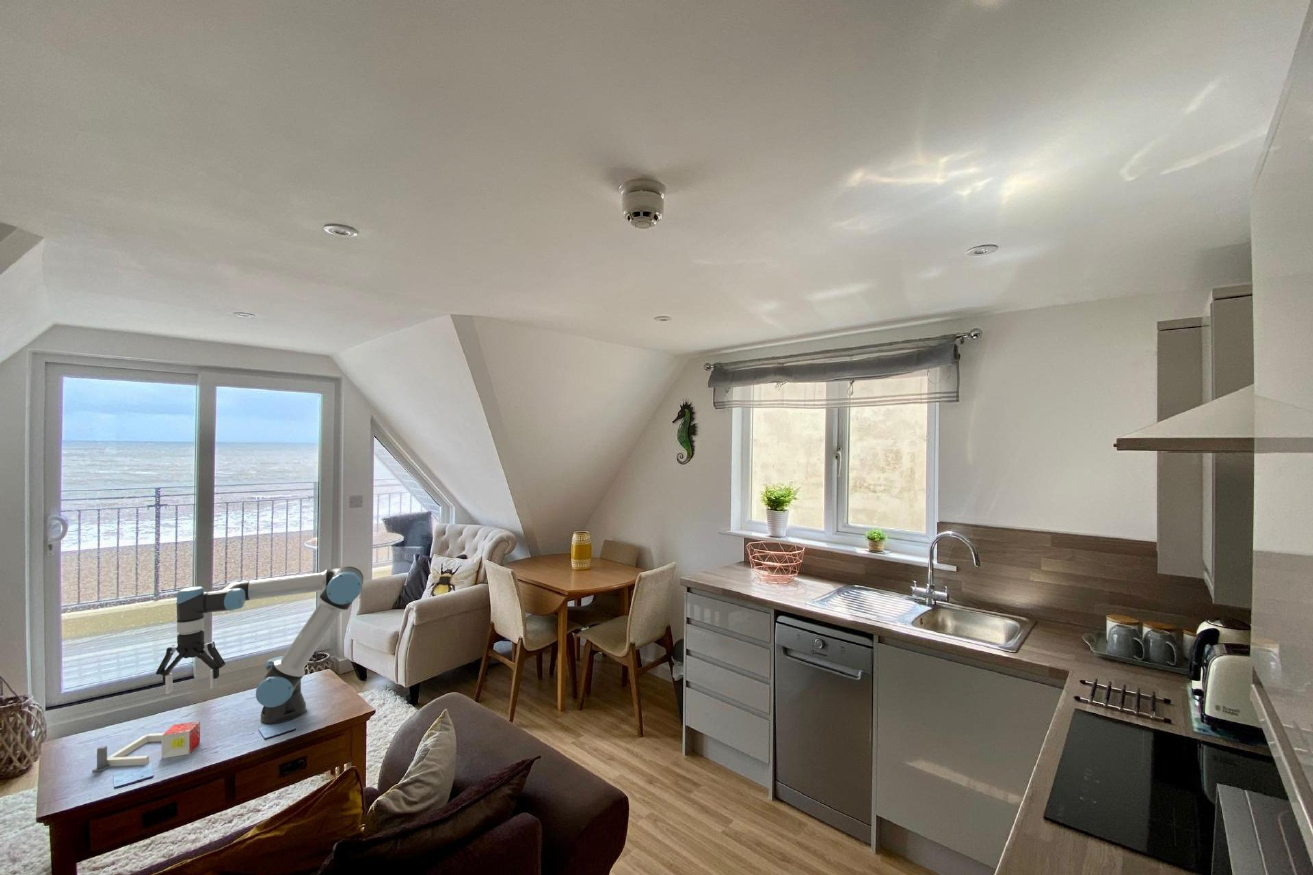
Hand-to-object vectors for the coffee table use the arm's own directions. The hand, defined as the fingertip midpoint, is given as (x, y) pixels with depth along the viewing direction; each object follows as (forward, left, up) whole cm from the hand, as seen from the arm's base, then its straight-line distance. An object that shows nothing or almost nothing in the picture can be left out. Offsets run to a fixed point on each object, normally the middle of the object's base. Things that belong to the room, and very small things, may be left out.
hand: (191, 690), depth 197 cm
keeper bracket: (+14, +4, -20) cm, 25 cm away
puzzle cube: (+2, +2, -20) cm, 21 cm away
